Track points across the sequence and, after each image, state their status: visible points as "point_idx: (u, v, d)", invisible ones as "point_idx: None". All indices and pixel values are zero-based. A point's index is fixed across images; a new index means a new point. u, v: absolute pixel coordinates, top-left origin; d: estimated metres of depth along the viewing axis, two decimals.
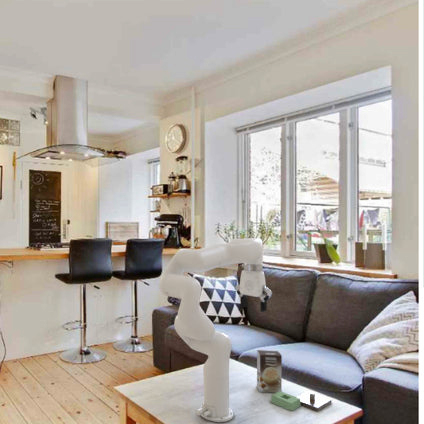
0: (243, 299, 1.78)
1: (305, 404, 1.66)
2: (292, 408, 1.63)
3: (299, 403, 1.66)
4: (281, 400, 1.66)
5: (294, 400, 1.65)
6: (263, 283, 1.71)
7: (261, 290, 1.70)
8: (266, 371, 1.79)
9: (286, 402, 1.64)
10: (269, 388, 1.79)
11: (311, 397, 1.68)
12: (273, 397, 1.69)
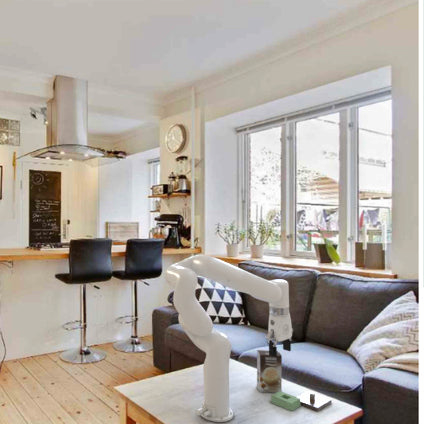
0: None
1: (305, 404, 1.66)
2: (292, 408, 1.63)
3: (299, 403, 1.66)
4: (281, 400, 1.66)
5: (294, 400, 1.65)
6: None
7: None
8: (266, 371, 1.79)
9: (286, 402, 1.64)
10: (269, 388, 1.79)
11: (311, 397, 1.68)
12: (273, 397, 1.69)
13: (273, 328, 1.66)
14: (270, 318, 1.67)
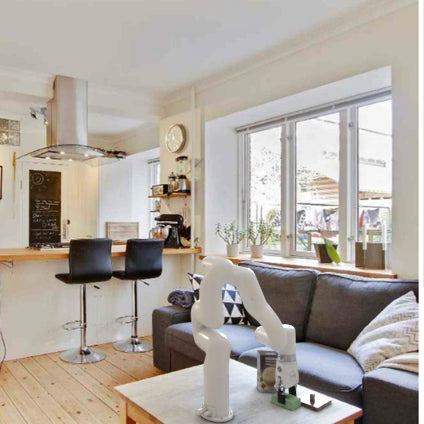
0: None
1: (305, 404, 1.66)
2: (293, 408, 1.63)
3: (299, 403, 1.66)
4: None
5: (295, 400, 1.65)
6: None
7: None
8: (266, 371, 1.79)
9: (287, 402, 1.65)
10: (269, 388, 1.79)
11: (311, 397, 1.68)
12: (274, 397, 1.69)
13: (280, 375, 1.65)
14: (277, 364, 1.66)
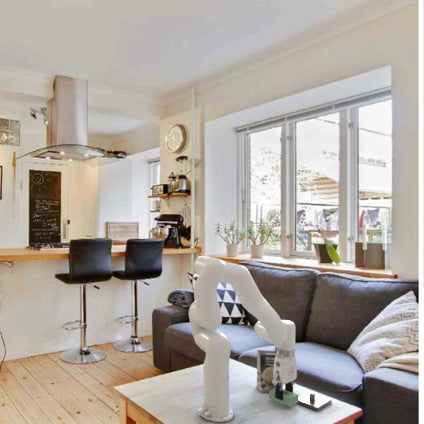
0: None
1: (305, 404, 1.66)
2: (290, 404, 1.63)
3: (297, 400, 1.66)
4: None
5: (292, 396, 1.65)
6: None
7: None
8: (266, 371, 1.79)
9: (284, 397, 1.64)
10: (269, 388, 1.79)
11: (311, 397, 1.68)
12: (271, 392, 1.69)
13: (278, 370, 1.64)
14: (276, 359, 1.66)
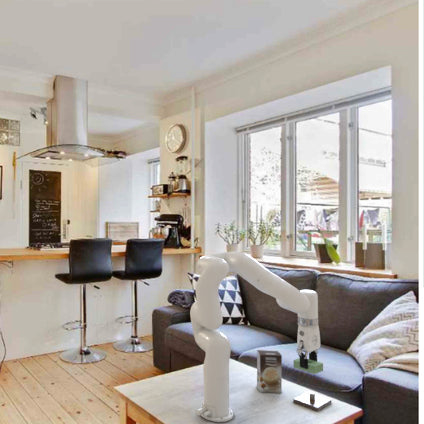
0: None
1: (305, 404, 1.66)
2: (315, 371, 1.64)
3: (322, 368, 1.67)
4: None
5: (317, 364, 1.66)
6: None
7: None
8: (266, 371, 1.79)
9: (309, 366, 1.65)
10: (269, 388, 1.79)
11: (311, 397, 1.68)
12: (295, 362, 1.70)
13: (303, 339, 1.65)
14: (299, 329, 1.67)
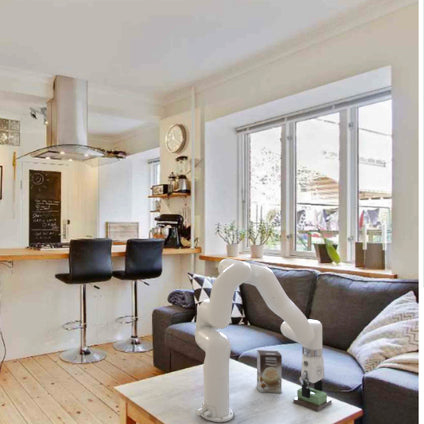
0: None
1: (305, 404, 1.66)
2: (319, 403, 1.64)
3: (325, 398, 1.67)
4: None
5: (321, 395, 1.66)
6: None
7: None
8: (266, 371, 1.79)
9: (313, 397, 1.65)
10: (269, 388, 1.79)
11: None
12: (299, 392, 1.70)
13: (307, 369, 1.65)
14: (303, 359, 1.67)
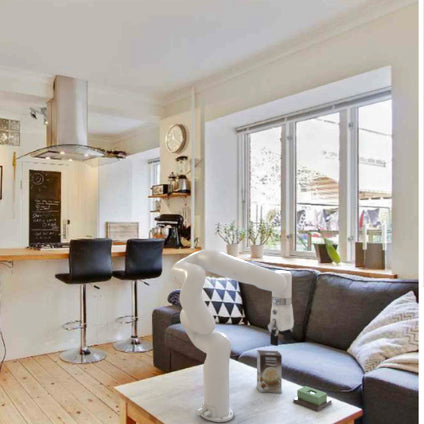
0: None
1: (305, 404, 1.66)
2: (319, 403, 1.64)
3: (325, 398, 1.67)
4: (308, 395, 1.67)
5: (321, 395, 1.66)
6: None
7: None
8: (266, 371, 1.79)
9: (313, 397, 1.65)
10: (269, 388, 1.79)
11: None
12: (299, 392, 1.70)
13: (275, 318, 1.68)
14: (272, 308, 1.70)
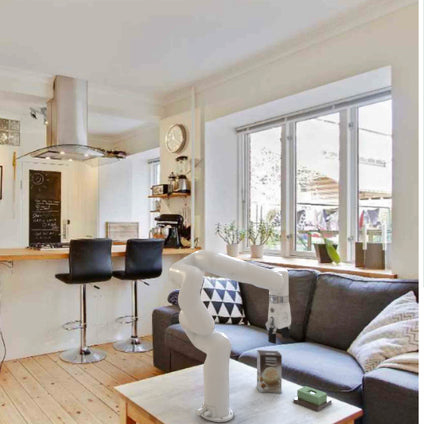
0: None
1: (305, 404, 1.66)
2: (319, 403, 1.64)
3: (325, 398, 1.67)
4: (308, 395, 1.67)
5: (321, 395, 1.66)
6: None
7: None
8: (266, 371, 1.79)
9: (313, 397, 1.65)
10: (269, 388, 1.79)
11: None
12: (299, 392, 1.70)
13: (273, 315, 1.69)
14: (270, 306, 1.70)
